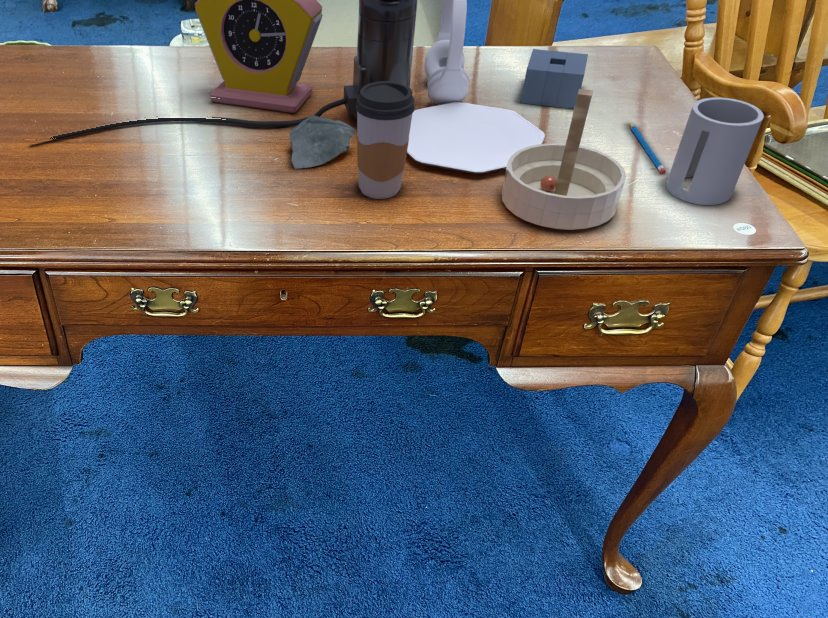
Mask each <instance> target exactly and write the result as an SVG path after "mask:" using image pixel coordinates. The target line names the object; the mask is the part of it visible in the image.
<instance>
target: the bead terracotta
mask: <svg viewBox="0 0 828 618" xmlns="http://www.w3.org/2000/svg"><path fill="white" fill-rule="evenodd" d="M556 183H557V180H556V178H555V177H554V176H551V175H548V176H545V177H544V178H543V179H542V180H541V182H540V186H541V189H542V190H543V191H545V192H551V191H553V190H554V189H555V187H556Z"/></svg>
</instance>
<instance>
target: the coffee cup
mask: <svg viewBox="0 0 828 618" xmlns="http://www.w3.org/2000/svg"><path fill="white" fill-rule="evenodd" d="M415 101H416V100H415V96H414V95H413V89H412V88H411V86H410V87H408V86H407V85H405V84H402V83H398V82H392V81H379V82H373V83H370V84H367V85H365V86H363V87H362V88H361V90H360V95H359V96H358V97H357V104H356V110H357V122H356V125H357V126H356V127H357V128H356V129H357V136H356V148H357V149H356V151H357V170H358V171H357V173H358V188H359V190H360V192H361V193H362V195H364V196H366V197H368V198H371V199H376V200H377V199H378V200H385V199H390V198H393V197H395V196H396V195H397V194H398V193H399V191H400V190H401V188H402V183H403V182H402V181H403V175H404V171H405V167H406V166H405V165H406V161H407V155H408V154H407V149H408V143H409V133H410V127H411V120H412V114H413V112H414V110H416V106H415Z"/></svg>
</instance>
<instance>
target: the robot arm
mask: <svg viewBox="0 0 828 618" xmlns="http://www.w3.org/2000/svg"><path fill="white" fill-rule="evenodd" d="M417 10H418V0H358V17H357V18H358V21H357V24H358V25H357V42H356V55H355V56H354V57H353V73H352V74H353V75H352V84H351V85H350V84H349V85H343V98H341V99H338V100H334V101H332V102H330V103H327V104H326V105H324V106H322V107H320V109H318V110H317V112H315V113H313V115H315V116H317V117H322V115H324V114H326V112H327V111H330V110H332V109H335V108H338V107H341V106H343V105H344V107H345V109H346V112H347V115H348V116H353V119H354V120H355V123H357V110H356V104H357V97H358V96H359V95H360V90H361V88H362V87H363V86H365V85H367V84H370V83H373V82H379V81H392V82H398V83H402V84H405V85H407V86H408V87H410V88H411V79H412V78H411V76H412V68H413V67H412V66H413V54H414V45H415V43H414V42H415V33H416V22H417V21H416V20H417ZM310 116H311V115H309V116H306V117H303V118H299V119H293V120H292V119H291V120H266V121H265V120H263V121H262V120H249V119H241V118H232V117H224V116H223V117H221V116H211V117H212V118H221V119H206V118H158V119H146V120H137V121H129V122H122V123H116V124H110V125H105V126H100V127H96V128H91V129H86V130H82V131H77V132H72V133H67V134H62V135H58V136H53V138H54V139H55V138H56V139H57V140H63V139H66V138H73V137H76V136H82V135H85V134H90V133H96V132H99V131H104V130H105V131H106V130H111V129H115V128H121V127H127V126H135V125H143V124H154V123H171V122H173V123H174V122H176V123H177V122H186V123H187V122H189V123H191V122H194V123H211V124H212V123H213V124H227V125H237V126H242V127H252V128H287V127H296V126H298V125H299V124H300V123H301V122H302V121H304V120H305V119H307V118H308V117H310ZM222 119H226V120H222ZM51 138H52V137H51ZM51 138H50V139H51ZM53 138H52V139H53ZM54 139H53V141H57V140H56V139H55V140H54Z"/></svg>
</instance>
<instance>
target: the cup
mask: <svg viewBox="0 0 828 618" xmlns="http://www.w3.org/2000/svg"><path fill="white" fill-rule="evenodd" d="M764 117H765V116H764V113H763V111H762V110H761V109H760V108H758V107H757V106H755V105H753V104H752V103H749V102H747V101H743V100H739V99H736V98H729V97H717V96H716V97H705V98H701V99H699V100H697V101H695V102H694V103H693V104H692V107H691V110H690V113H689V116H688V118H687V121H686V124H685V127H684V129H683V133H682V135H681V139H680V141H679V145H678V148H677V149H676V154H675V156H674V159H673V162H672V164H671V168H670V170H669V174H668V177H667V180H666V182H665V188H666V190H667V192H669V194H671V195H672V196H673V197H675V198H677V199H679V200H681V201H683V202H686V203H690V204H695V205H701V206H715V205H716V206H717V205H721V204H724V203H727V202H728V201H730V199H731V198H732V196H733V193H734V191H735V189H736V186H737V183H738V181H739V178H740V176H741V174H742V171H743V169H744V166H745V164H746V162H747V160H748V157H749V155H750V152H751V149H752V147H753V144H754V142H755V139H756V137H757V135H758V132H759V130H760V128H761V125H762V123H763V120H764ZM686 178H692V179H691V182H690V185H689V188H686V187H684V186H683V185H684V182H685V180H686Z"/></svg>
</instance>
